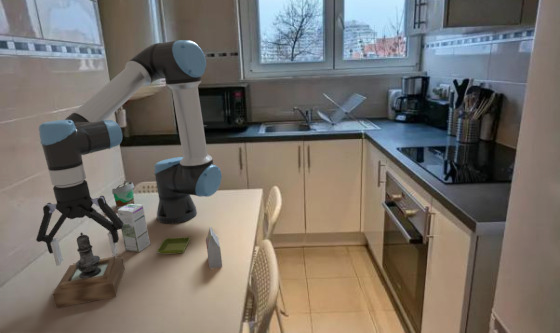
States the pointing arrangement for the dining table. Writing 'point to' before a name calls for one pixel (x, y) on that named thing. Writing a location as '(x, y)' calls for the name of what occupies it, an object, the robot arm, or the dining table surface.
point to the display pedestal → (90, 283)
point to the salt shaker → (87, 258)
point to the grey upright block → (213, 250)
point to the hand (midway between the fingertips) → (87, 258)
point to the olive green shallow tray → (173, 245)
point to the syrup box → (134, 227)
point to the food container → (123, 194)
